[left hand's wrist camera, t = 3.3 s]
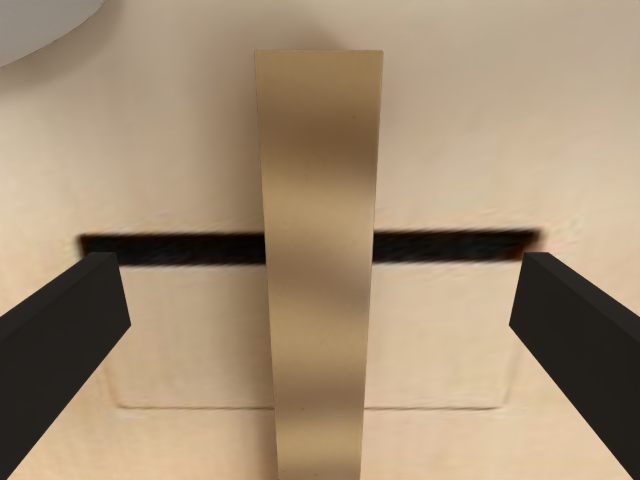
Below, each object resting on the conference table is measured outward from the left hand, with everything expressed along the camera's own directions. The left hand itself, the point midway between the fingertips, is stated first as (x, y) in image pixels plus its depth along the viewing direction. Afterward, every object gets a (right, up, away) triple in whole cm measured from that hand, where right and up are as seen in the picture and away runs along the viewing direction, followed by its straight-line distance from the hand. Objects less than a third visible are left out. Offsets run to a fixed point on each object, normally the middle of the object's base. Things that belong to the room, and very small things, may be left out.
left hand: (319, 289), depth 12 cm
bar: (0, -17, +21) cm, 27 cm away
